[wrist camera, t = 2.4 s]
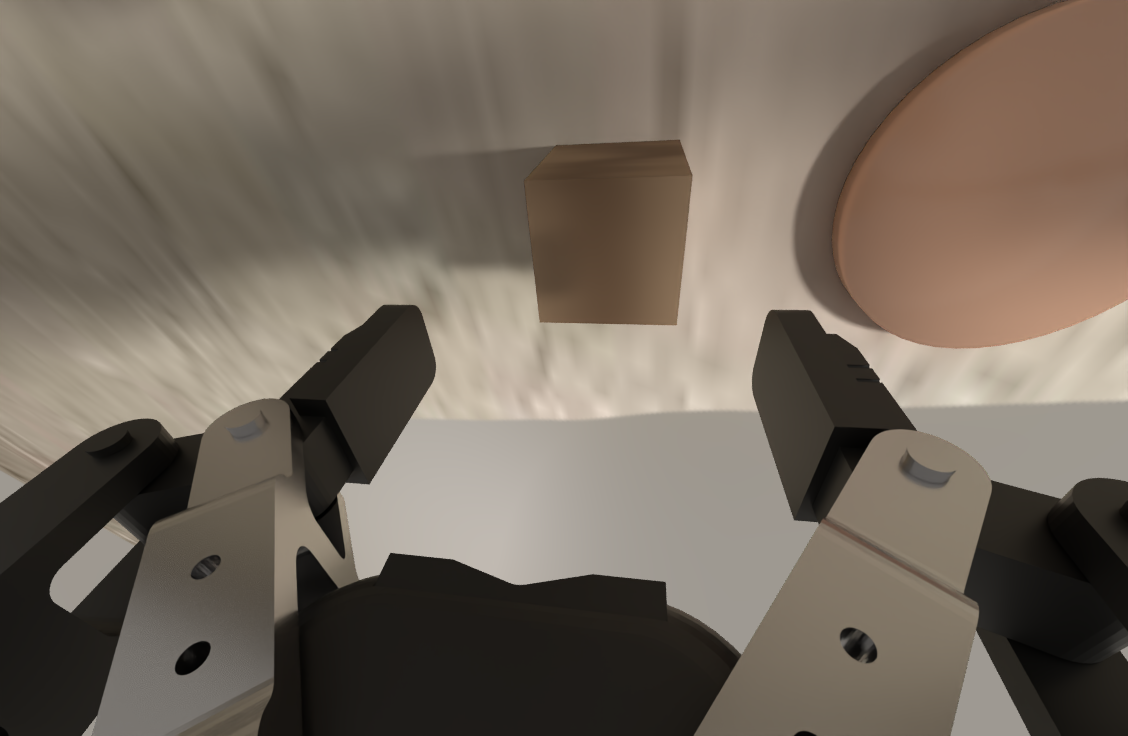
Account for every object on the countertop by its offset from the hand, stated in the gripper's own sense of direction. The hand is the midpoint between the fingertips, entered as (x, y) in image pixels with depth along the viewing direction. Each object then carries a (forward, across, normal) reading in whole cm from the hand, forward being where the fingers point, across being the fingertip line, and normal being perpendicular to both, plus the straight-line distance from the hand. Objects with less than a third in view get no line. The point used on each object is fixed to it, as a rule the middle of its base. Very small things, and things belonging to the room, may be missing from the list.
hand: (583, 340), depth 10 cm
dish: (+11, -15, 0) cm, 19 cm away
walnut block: (+11, 0, 0) cm, 11 cm away
